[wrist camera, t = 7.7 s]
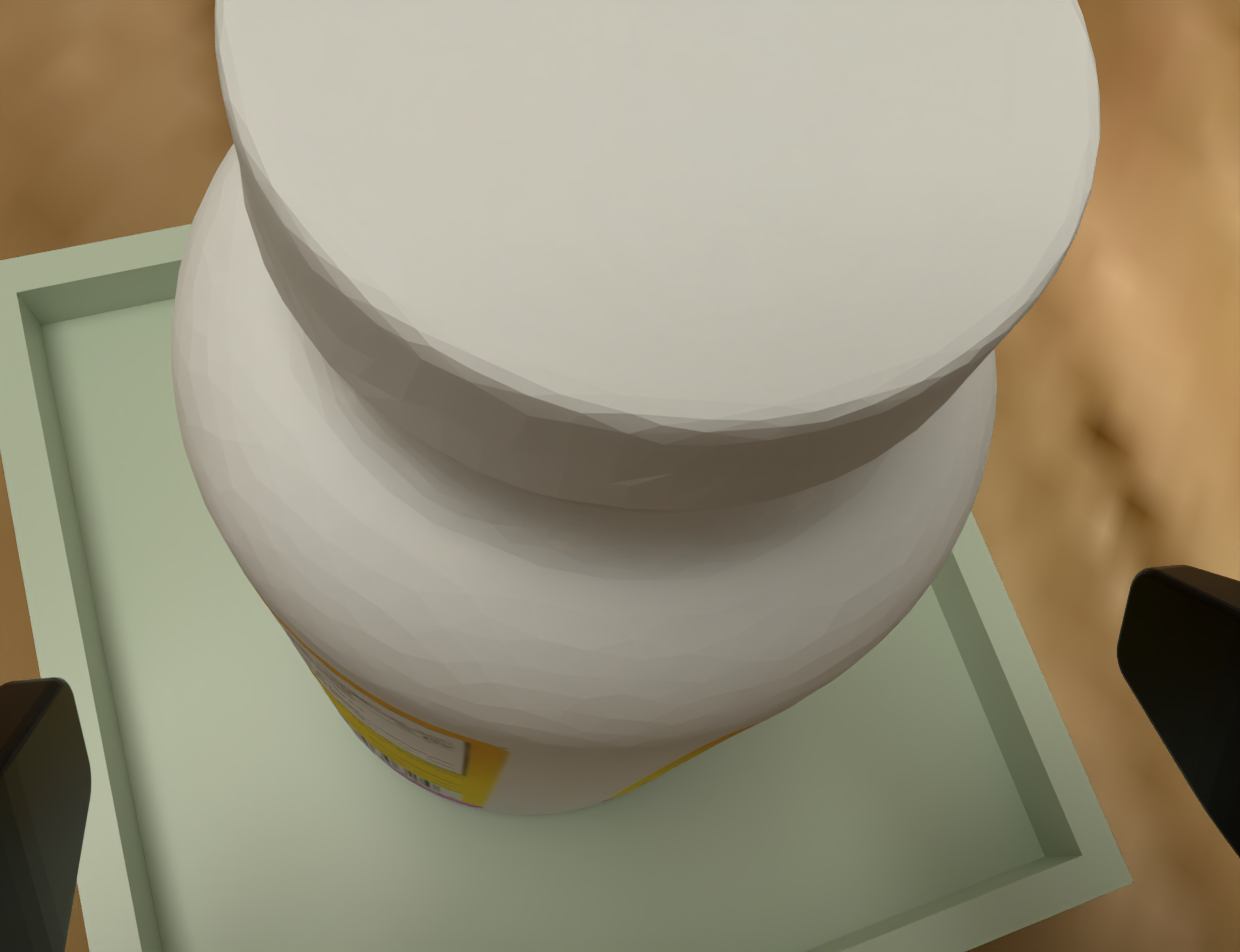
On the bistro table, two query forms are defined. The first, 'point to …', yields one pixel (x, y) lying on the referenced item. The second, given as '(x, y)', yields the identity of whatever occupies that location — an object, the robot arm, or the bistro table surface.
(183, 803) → the tray
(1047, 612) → the bistro table surface
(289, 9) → the supplement bottle
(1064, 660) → the bistro table surface
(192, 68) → the bistro table surface
